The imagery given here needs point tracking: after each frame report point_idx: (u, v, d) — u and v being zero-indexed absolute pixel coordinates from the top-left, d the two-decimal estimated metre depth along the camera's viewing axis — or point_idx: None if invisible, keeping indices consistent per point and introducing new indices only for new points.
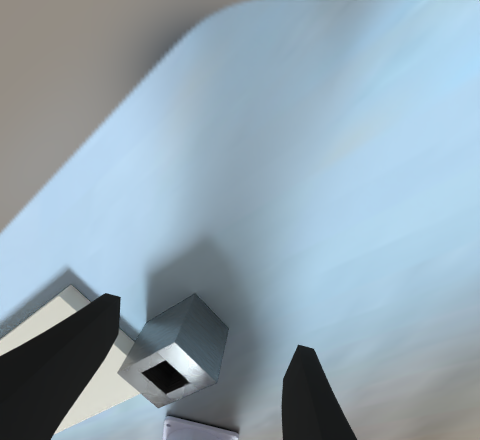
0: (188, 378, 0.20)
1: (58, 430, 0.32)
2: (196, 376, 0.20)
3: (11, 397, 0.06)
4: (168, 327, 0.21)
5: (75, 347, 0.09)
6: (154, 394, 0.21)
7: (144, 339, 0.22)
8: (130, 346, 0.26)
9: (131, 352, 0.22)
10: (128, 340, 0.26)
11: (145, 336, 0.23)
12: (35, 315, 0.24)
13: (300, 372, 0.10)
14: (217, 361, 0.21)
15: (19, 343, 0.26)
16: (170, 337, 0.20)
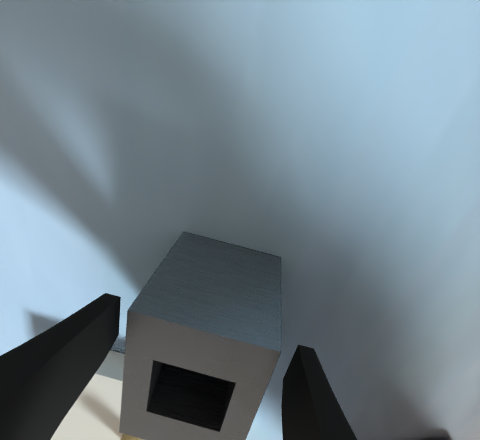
0: (223, 375, 0.08)
1: None
2: (231, 361, 0.08)
3: (11, 397, 0.06)
4: None
5: (75, 347, 0.09)
6: None
7: None
8: None
9: None
10: None
11: None
12: None
13: (300, 372, 0.10)
14: (270, 310, 0.09)
15: None
16: None
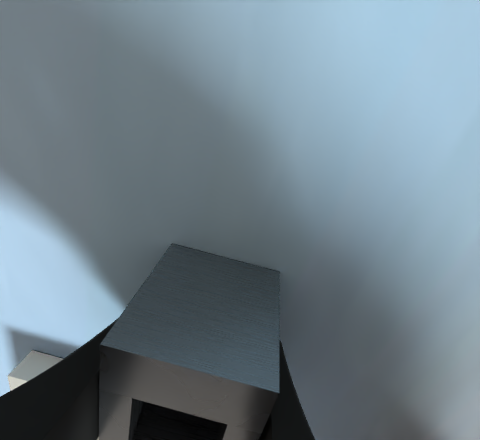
0: (212, 416, 0.07)
1: None
2: (222, 402, 0.07)
3: (66, 412, 0.06)
4: None
5: None
6: None
7: None
8: None
9: None
10: None
11: None
12: None
13: None
14: (267, 338, 0.08)
15: None
16: None
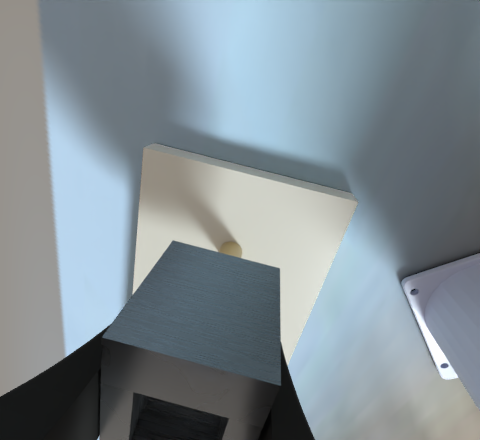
0: (214, 410, 0.07)
1: None
2: (223, 395, 0.07)
3: (66, 412, 0.06)
4: None
5: None
6: None
7: None
8: (279, 177, 0.16)
9: None
10: (271, 174, 0.16)
11: None
12: (140, 209, 0.17)
13: None
14: (268, 333, 0.08)
15: None
16: None
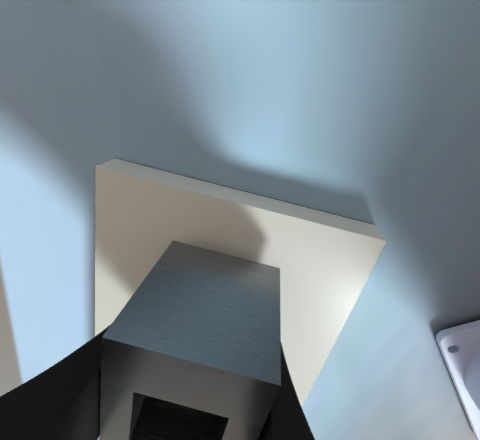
0: (214, 409, 0.07)
1: None
2: (223, 395, 0.07)
3: (66, 412, 0.06)
4: None
5: None
6: None
7: None
8: (279, 205, 0.12)
9: None
10: (268, 200, 0.12)
11: None
12: (98, 245, 0.13)
13: None
14: (268, 333, 0.08)
15: None
16: None
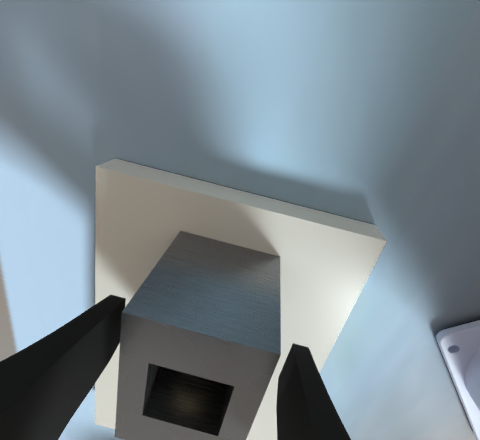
0: (221, 378, 0.08)
1: None
2: (229, 364, 0.08)
3: (19, 399, 0.06)
4: None
5: (81, 349, 0.09)
6: None
7: None
8: (279, 205, 0.12)
9: None
10: (268, 200, 0.12)
11: None
12: (98, 245, 0.13)
13: (294, 371, 0.10)
14: (269, 311, 0.09)
15: None
16: None
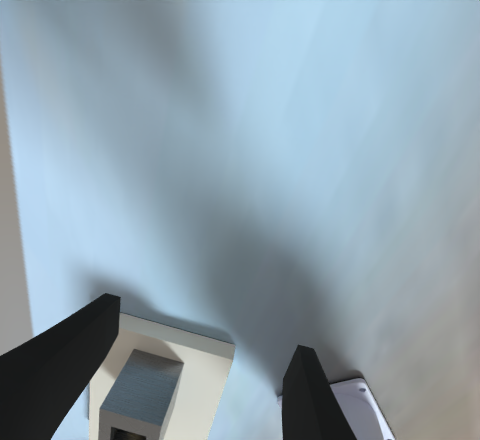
0: (140, 433, 0.20)
1: None
2: (143, 428, 0.20)
3: (11, 397, 0.06)
4: None
5: (75, 347, 0.09)
6: None
7: None
8: (184, 336, 0.24)
9: None
10: (180, 332, 0.24)
11: None
12: None
13: (300, 372, 0.10)
14: (164, 403, 0.21)
15: (102, 388, 0.27)
16: None
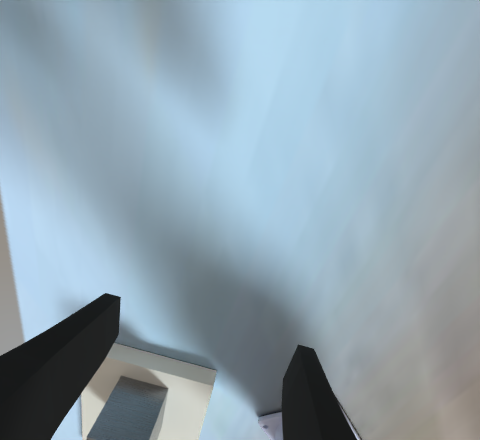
0: None
1: None
2: None
3: (11, 397, 0.06)
4: None
5: (75, 347, 0.09)
6: None
7: None
8: (168, 363, 0.25)
9: None
10: (164, 359, 0.26)
11: None
12: None
13: (300, 372, 0.10)
14: (148, 429, 0.22)
15: (94, 411, 0.28)
16: None
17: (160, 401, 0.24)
